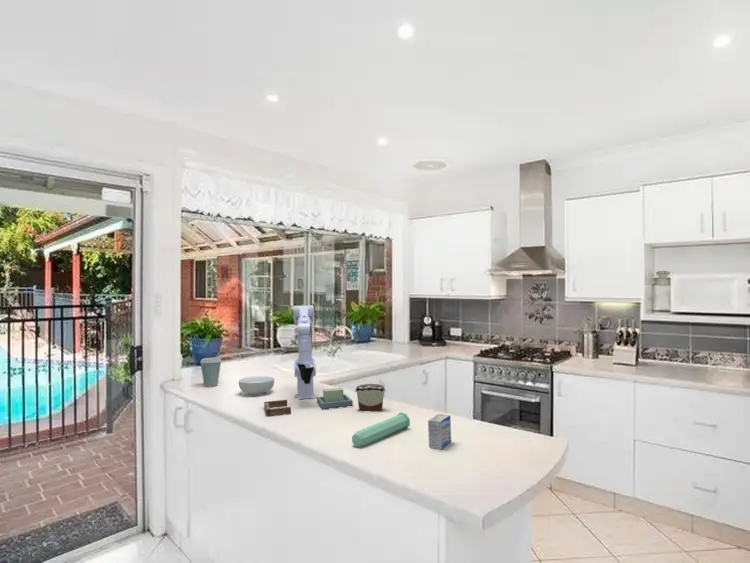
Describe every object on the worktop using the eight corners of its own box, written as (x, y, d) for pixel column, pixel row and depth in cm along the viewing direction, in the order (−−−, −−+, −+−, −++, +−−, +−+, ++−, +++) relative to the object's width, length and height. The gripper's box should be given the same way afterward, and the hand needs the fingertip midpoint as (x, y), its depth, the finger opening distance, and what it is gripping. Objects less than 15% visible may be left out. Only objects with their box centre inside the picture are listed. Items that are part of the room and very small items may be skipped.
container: (358, 429, 139) (406, 410, 158) (346, 433, 143) (395, 414, 162) (364, 448, 138) (412, 427, 156) (351, 452, 141) (400, 430, 160)
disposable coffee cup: (196, 387, 232) (195, 359, 232) (207, 383, 242) (206, 355, 243) (215, 388, 230) (214, 359, 230) (225, 383, 241) (225, 355, 241)
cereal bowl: (269, 397, 208) (269, 382, 208) (234, 398, 208) (233, 383, 208) (278, 389, 225) (277, 375, 225) (245, 389, 225) (245, 375, 225)
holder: (264, 407, 190) (264, 401, 190) (286, 405, 193) (286, 399, 193) (266, 416, 177) (266, 410, 177) (291, 413, 179) (290, 407, 179)
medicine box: (441, 450, 136) (440, 421, 137) (428, 447, 139) (427, 419, 139) (451, 442, 143) (450, 415, 143) (438, 439, 145) (438, 413, 146)
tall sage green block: (323, 403, 193) (322, 389, 193) (341, 401, 195) (340, 387, 195) (325, 405, 189) (325, 391, 189) (343, 403, 191) (343, 389, 191)
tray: (317, 402, 196) (316, 397, 196) (345, 399, 200) (345, 394, 200) (322, 409, 184) (322, 403, 184) (352, 406, 188) (352, 400, 188)
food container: (386, 407, 186) (386, 383, 186) (385, 411, 180) (385, 386, 180) (357, 407, 187) (357, 383, 187) (355, 411, 181) (355, 386, 181)
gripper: (293, 349, 199) (294, 379, 199) (298, 353, 185) (298, 386, 185) (309, 348, 201) (309, 378, 201) (315, 352, 187) (315, 384, 187)
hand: (305, 382), depth 193 cm, fingers open, 7 cm apart
